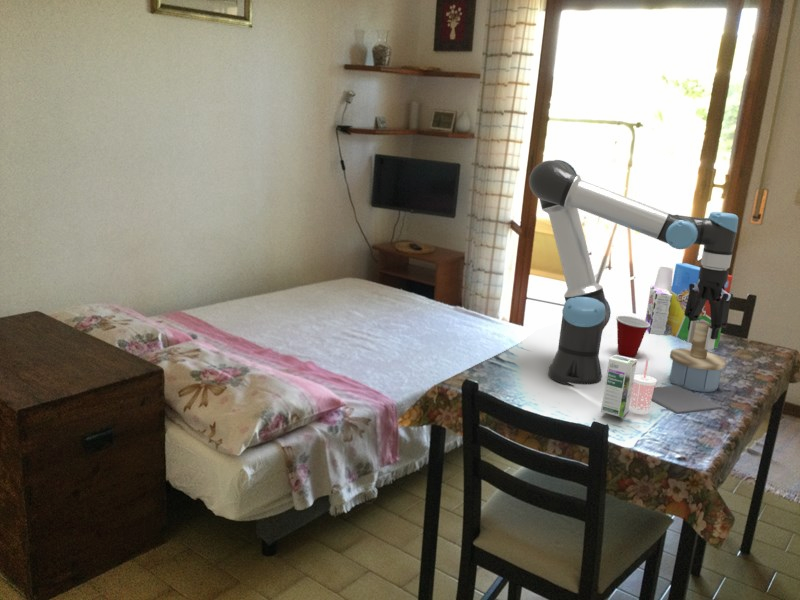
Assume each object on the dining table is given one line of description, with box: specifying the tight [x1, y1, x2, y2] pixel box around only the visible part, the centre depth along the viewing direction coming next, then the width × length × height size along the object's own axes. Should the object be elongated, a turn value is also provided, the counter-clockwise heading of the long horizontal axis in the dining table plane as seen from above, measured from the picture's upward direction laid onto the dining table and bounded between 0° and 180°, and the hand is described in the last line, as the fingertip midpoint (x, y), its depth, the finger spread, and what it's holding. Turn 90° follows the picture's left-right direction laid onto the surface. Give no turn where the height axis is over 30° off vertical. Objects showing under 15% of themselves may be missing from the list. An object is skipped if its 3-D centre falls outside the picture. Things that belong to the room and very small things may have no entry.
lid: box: [669, 321, 727, 371], centre depth 197 cm, size 15×15×12 cm
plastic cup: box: [615, 315, 650, 358], centre depth 222 cm, size 11×11×12 cm
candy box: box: [644, 285, 672, 336], centre depth 252 cm, size 14×6×16 cm, turn 167°
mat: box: [651, 385, 723, 415], centre depth 186 cm, size 16×16×1 cm
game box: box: [665, 262, 733, 348], centre depth 240 cm, size 21×6×27 cm, turn 23°
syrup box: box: [600, 354, 638, 419], centre depth 172 cm, size 6×6×14 cm
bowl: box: [669, 360, 723, 393], centre depth 199 cm, size 13×13×7 cm
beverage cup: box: [629, 359, 658, 416], centre depth 174 cm, size 6×6×14 cm
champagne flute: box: [653, 266, 674, 293], centre depth 254 cm, size 7×7×24 cm
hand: (700, 345), depth 197 cm, fingers open, 6 cm apart
